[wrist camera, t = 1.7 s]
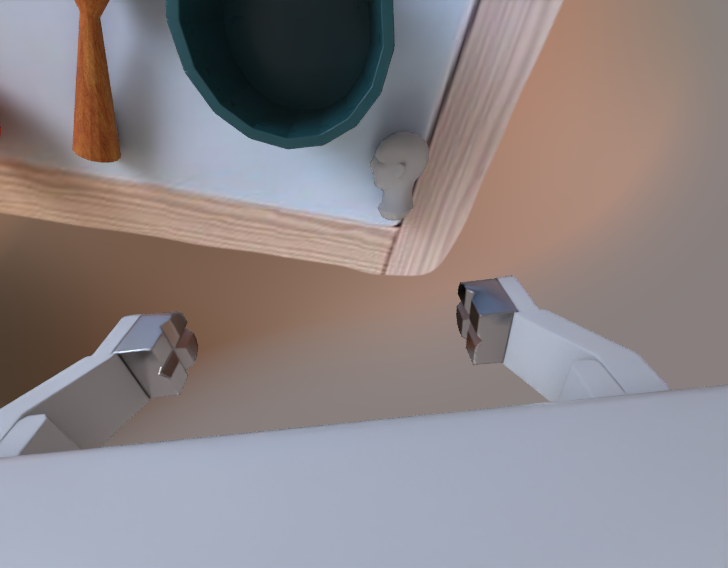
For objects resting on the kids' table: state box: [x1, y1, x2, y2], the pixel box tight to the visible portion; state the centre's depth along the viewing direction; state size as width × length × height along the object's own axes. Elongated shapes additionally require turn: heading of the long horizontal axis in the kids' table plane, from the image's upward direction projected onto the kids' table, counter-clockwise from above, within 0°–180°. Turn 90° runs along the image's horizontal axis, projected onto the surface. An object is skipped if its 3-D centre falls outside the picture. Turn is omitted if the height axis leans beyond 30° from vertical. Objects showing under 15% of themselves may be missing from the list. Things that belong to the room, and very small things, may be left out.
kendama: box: [72, 0, 121, 162], centre depth 24 cm, size 6×6×20 cm
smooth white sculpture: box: [370, 131, 429, 220], centre depth 33 cm, size 4×8×5 cm
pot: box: [166, 0, 395, 149], centre depth 23 cm, size 12×12×10 cm
